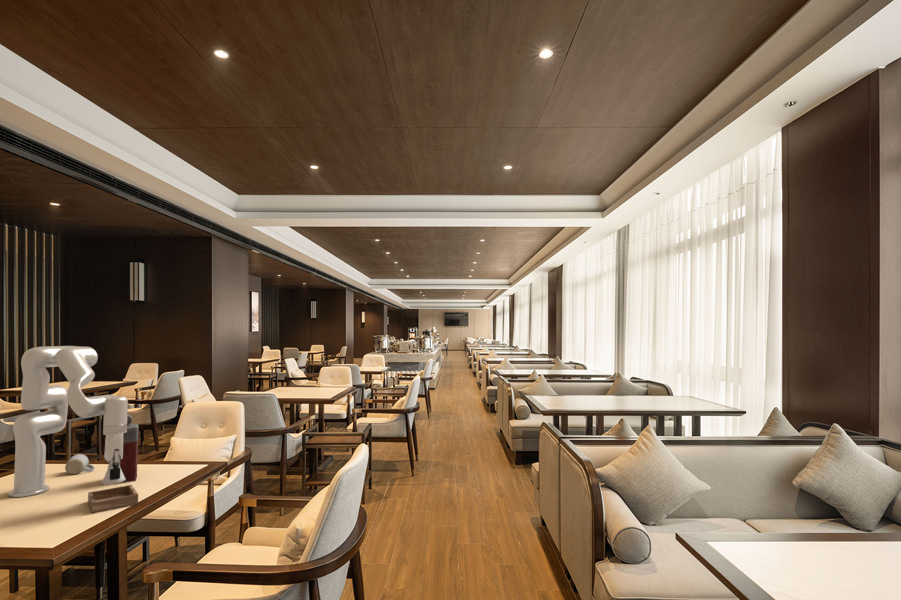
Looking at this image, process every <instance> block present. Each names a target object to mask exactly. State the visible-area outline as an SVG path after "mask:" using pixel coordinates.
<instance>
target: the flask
mask: <svg viewBox="0 0 901 600" xmlns="http://www.w3.org/2000/svg"><path fill="white" fill-rule="evenodd" d="M112 460H115V459H112ZM113 463H114V462H113ZM108 466H109V467H108ZM108 466H107V470H106V472H105V475H104V477H103V479H102V481H101V484H102V485H105V486H106V485H108V486H109V485H116V484H121V483H120V482H123V481H125V480H126V479H125V477H124V475H123V472H122V470H121V467H120V478H119V479H115V480H110V469H111V460H110V463H109V462H108Z"/></svg>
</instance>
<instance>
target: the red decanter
mask: <svg viewBox="0 0 901 600" xmlns="http://www.w3.org/2000/svg"><path fill="white" fill-rule="evenodd" d="M132 421H133V417H132V416H131V415H129V414H127V432H126V433H123V457H122V459H121V460H120V467H121V470H122V472H123V475H124V477H125V479H126V480H125V481H123V482H120V483H119V484H122V483H129V482H136V481H137V477H138V461H139V460H138V459H139V457H138V456H139V455H138V453H139V424H138V423H132Z"/></svg>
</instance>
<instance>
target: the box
mask: <svg viewBox="0 0 901 600" xmlns="http://www.w3.org/2000/svg"><path fill="white" fill-rule="evenodd" d="M87 503H88V505H89V508H90V510H91V514H96V513H100V512H105V511H111V510H117V509H120V508H127V507H130V506H135V505H139V493H138V492H137V491H136V489H135V487H134V486H133V485H132V484H128V485H127V484H126V485H123V486H116V487H111V488H106V489H100V490H96V491H89V492H88V493H87Z"/></svg>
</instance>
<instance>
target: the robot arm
mask: <svg viewBox="0 0 901 600" xmlns="http://www.w3.org/2000/svg"><path fill="white" fill-rule="evenodd" d="M98 357H99V356H98V353H97V351H96V350H95V349H94V348H92V347H90V346H78V345H61V346H60V345H57V346H56V345H55V346H52V345H51V346H37V347H36V346H35V347H32V348H30V349H27V350H26V351H25V352H24V353H23V355H22V357H21V361H20V365H21V371H22V384H21V395H20V405H21V409H23V410H24V411H29V412H30V411H38V410H39V411H40V410H46V409H48V410H47V411H40V412H32V413H28V414H23V415H21V416H19V417H17V418H16V419H15V420H14V423H13V424H12V425H13V426H12V430H13V431H12V432H13V435H14V441H15V442H14V443H15V452H14V457H15V458H14V473H13V474H14V475H13V477H14V478H13V489H12V490H10V491H8V493H7V494H8V496H9V497H10V498H23V497H29V496H35V495H38V494H43V493H44V492H47V491H49V490H50V485H48V484H45V481H46V480H45V479H46V460H47V459H46V455H47V452H46V451H47V447H46V446H47V445H46V443H45V441H44V440H42V439H43V438H41V436H45V435H46V436H47V435H50V434H56V433H59V432H61V431H62V430H64V428H65V427H66V425H67V421H68V418H67V417H68V411H69V409H68V408H69V406H70V408H71V410H72V411H73V412H74V413H75V415H77V416H78V417H80V418H83V419H84V418H85V419H86V418H92V417H98V416H103V425H102V426H103V427H102V428H103V429H102V430H103V431H102V433H103V434H102V435H104V436H105V439H104V441H105V443H104V444H105V445H104V459H105V461H106V462H108V464H109V463H110V460H111V469H110V480H115V479H119V478H120V460H121V459H122V457H123V433H126V432H127V415H128V411H129V409H128V404H129V400H128V398H127V396H124V395H118V396H117V395H113V394H104V395H96V396H95V395H94V396H88V397H87V396H86V395H85V394H84V392H83V391H82V388H83V387H84V386H87V385H88V384H90V383H91V382H92V381H93V380H94V378H95V376H96V374H95V371H94V370H93V369H92V367H93V366H94V365H96V364H97V363H98ZM56 367H58V368H59V369H60V371H61V372H62V374H63V375H64V377H65V378H66V380H67V381H68V383H69V386H68V388H66V387H65V386H63V385H61V384H51V385H50V380H51V377H50V373H49V371H48V370H47V368H56ZM112 459H115V460H112ZM113 462H114V463H113ZM108 467H109V465H107V468H108Z"/></svg>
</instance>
